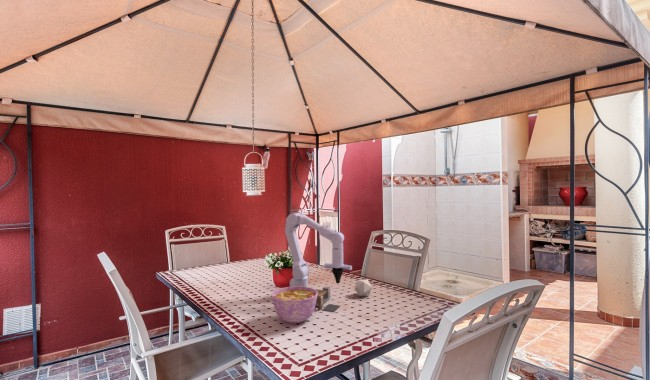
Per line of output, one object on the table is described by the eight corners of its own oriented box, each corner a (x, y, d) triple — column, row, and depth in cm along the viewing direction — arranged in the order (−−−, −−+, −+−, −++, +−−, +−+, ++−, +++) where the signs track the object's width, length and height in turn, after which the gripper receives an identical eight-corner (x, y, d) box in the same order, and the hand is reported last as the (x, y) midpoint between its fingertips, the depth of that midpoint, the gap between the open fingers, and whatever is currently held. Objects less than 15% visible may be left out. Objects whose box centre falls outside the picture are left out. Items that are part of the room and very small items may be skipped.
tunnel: (308, 308, 152) (308, 294, 152) (316, 302, 160) (315, 289, 160) (320, 310, 150) (320, 295, 150) (327, 304, 157) (327, 290, 157)
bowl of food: (276, 311, 149) (276, 286, 149) (319, 311, 149) (319, 286, 149) (267, 329, 129) (267, 301, 129) (317, 329, 129) (316, 300, 129)
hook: (300, 305, 156) (300, 293, 156) (312, 296, 169) (312, 285, 169) (318, 308, 152) (318, 295, 152) (330, 298, 166) (330, 286, 166)
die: (367, 300, 163) (376, 283, 167) (351, 291, 165) (361, 274, 168) (365, 301, 171) (373, 284, 175) (350, 292, 173) (359, 276, 176)
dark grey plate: (322, 310, 149) (322, 309, 149) (328, 304, 157) (328, 304, 157) (334, 312, 147) (334, 311, 147) (340, 306, 155) (340, 305, 155)
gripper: (321, 256, 164) (321, 283, 164) (348, 258, 158) (348, 286, 158) (326, 254, 171) (327, 279, 171) (353, 256, 165) (353, 282, 165)
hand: (338, 282), depth 165 cm, fingers closed
